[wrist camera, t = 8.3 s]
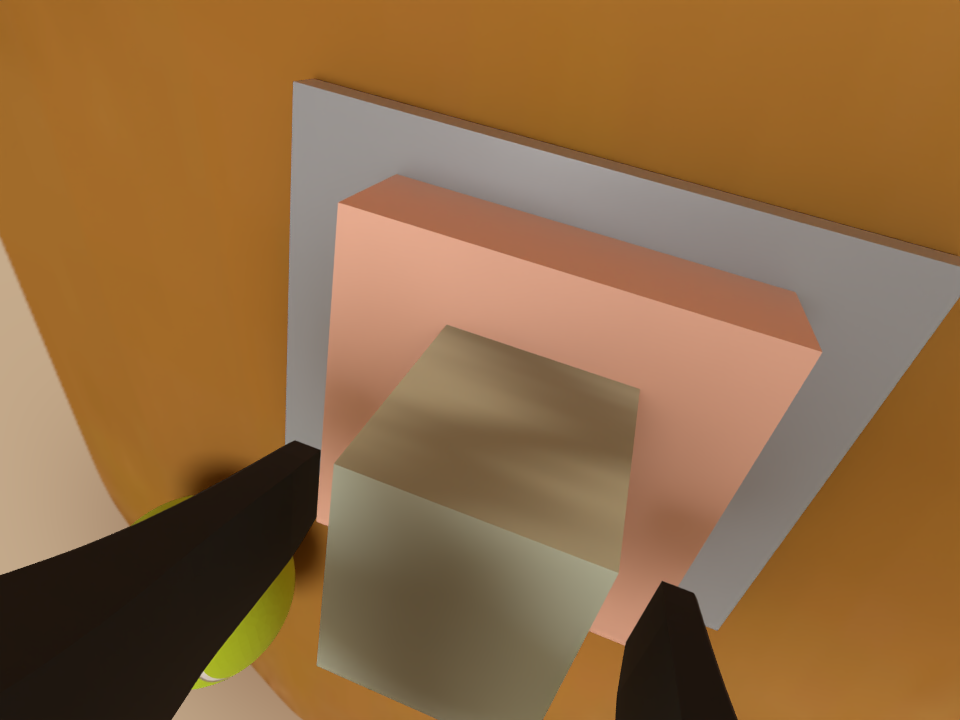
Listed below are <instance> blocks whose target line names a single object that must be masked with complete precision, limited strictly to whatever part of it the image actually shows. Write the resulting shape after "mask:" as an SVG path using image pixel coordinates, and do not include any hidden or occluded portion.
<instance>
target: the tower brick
mask: <svg viewBox="0 0 960 720" xmlns="http://www.w3.org/2000/svg"><path fill="white" fill-rule="evenodd" d="M446 325H450V326H453V327H456V328H459V329H462V330H465V331H468V332H471V333H474V334H477V335H480V336H483V337H486V338H489V339H492V340H495V341H498V342H501V343H504V344H507V345H510V346H513V347H515V348H518V349H521V350H524V351H527V352H530V353H533V354H536V355H539V356H542V357H545V358H548V359H551V360H554V361H557V362H560V363H563V364H566V365H569V366H572V367H575V368H578V369H581V370H584V371H587V372H590V373H593V374H596V375H599V376H602V377H605V378H608V379H611V380H614V381H617V382H620V383H623V384H626V385H629V386H632V387H635V388H638V389H640V393H639V402H638V411H637V419H636V428H635V437H634V445H633V454H632V463H631V471H630V480H629V489H628V497H627V506H626V515H625V523H624V532H623V541H622V549H621V558H620V567H619V574H618V576H617V578H616V579H615V581H614V583H613V585H612V587H611V589H610V591H609V593H608V595H607V597H606V599H605V601H604V603H603V605H602V606H601V608H600V610H599V612H598V614H597V616H596V618H595V620H594V622H593V624H592V626H591V628H590V630H589V631H590V632H593V633H595V634H597V635H600V636H602V637H605V638H607V639H610V640H612V641H615V642H617V643H620V644H622V645H625V644H626V641H627V639H628V637H629V636H630V634H631V632H632V631H633V629H634V627H635V626H636V624H637V622H638V620H639V619H640V617H641V615H642V614H643V612H644V610H645V609H646V607H647V605H648V604H649V602H650V600H651V598H652V597H653V595H654V593H655V592H656V590H657V588H658V587H659V585H660V583H661V581H664V582H667V583H669V584H672V585H675V586H677V587H678V585H679V584H680V582H681V581H682V579H683V577H684V576H685V574H686V572H687V571H688V569H689V568H690V566H691V564H692V563H693V561H694V559H695V558H696V556H697V555H698V553H699V551H700V550H701V548H702V547H703V545H704V543H705V542H706V540H707V538H708V537H709V535H710V534H711V532H712V530H713V529H714V527H715V525H716V524H717V522H718V521H719V519H720V517H721V516H722V514H723V513H724V511H725V509H726V508H727V506H728V504H729V503H730V501H731V500H732V498H733V496H734V495H735V493H736V491H737V490H738V488H739V487H740V485H741V483H742V482H743V480H744V479H745V477H746V475H747V474H748V472H749V470H750V469H751V467H752V466H753V464H754V462H755V461H756V459H757V458H758V456H759V454H760V453H761V451H762V449H763V448H764V446H765V445H766V443H767V441H768V440H769V438H770V436H771V435H772V433H773V432H774V430H775V428H776V427H777V425H778V424H779V422H780V420H781V419H782V417H783V415H784V414H785V412H786V411H787V409H788V407H789V406H790V404H791V402H792V401H793V399H794V398H795V396H796V394H797V393H798V391H799V390H800V388H801V386H802V385H803V383H804V381H805V380H806V378H807V377H808V375H809V373H810V372H811V370H812V368H813V367H814V365H815V364H816V362H817V360H818V359H819V357H820V356H821V354H822V350H821V348H820V345H819V343H818V341H817V339H816V336H815V334H814V332H813V330H812V328H811V325H810V323H809V321H808V319H807V316H806V314H805V312H804V310H803V308H802V305H801V303H800V301H799V299H798V296H797V294H796V292H793V291H790V290H786V289H783V288H780V287H776V286H773V285H769V284H766V283H763V282H759V281H756V280H753V279H749V278H746V277H742V276H739V275H736V274H732V273H729V272H726V271H722V270H719V269H715V268H712V267H709V266H705V265H702V264H699V263H695V262H692V261H688V260H685V259H682V258H678V257H675V256H672V255H668V254H665V253H661V252H658V251H655V250H651V249H648V248H645V247H641V246H638V245H634V244H631V243H628V242H624V241H621V240H618V239H614V238H611V237H607V236H604V235H601V234H597V233H594V232H591V231H587V230H584V229H580V228H577V227H574V226H570V225H567V224H563V223H560V222H557V221H553V220H550V219H547V218H543V217H540V216H536V215H533V214H530V213H526V212H523V211H520V210H516V209H513V208H509V207H506V206H503V205H499V204H496V203H493V202H489V201H486V200H482V199H479V198H476V197H472V196H469V195H466V194H462V193H459V192H455V191H452V190H449V189H445V188H442V187H439V186H435V185H432V184H428V183H425V182H422V181H418V180H415V179H412V178H408V177H405V176H401V175H398V174H396V175H393V176H391V177H389V178H387V179H385V180H383V181H381V182H379V183H377V184H375V185H373V186H371V187H369V188H367V189H365V190H363V191H360V192H358V193H356V194H354V195H352V196H350V197H348V198H346V199H344V200H342V201H340V202H338V210H337V225H336V240H335V254H334V269H333V284H332V299H331V314H330V329H329V344H328V358H327V373H326V388H325V403H324V418H323V433H322V448H321V462H320V477H319V492H318V507H317V522H319V523H322V524H324V525H327V526H329V514H330V502H331V490H332V479H333V467H334V463H335V462H336V460H337V459H338V458H339V457H340V455H341V454H342V453H343V452H344V451H345V449H346V448H347V447H348V446H349V444H350V443H351V442H352V441H353V439H354V438H355V437H356V436H357V435H358V433H359V432H360V431H361V430H362V428H363V427H364V426H365V425H366V423H367V422H368V421H369V420H370V418H371V417H372V416H373V415H374V414H375V412H376V411H377V410H378V409H379V407H380V406H381V405H382V404H383V402H384V401H385V400H386V399H387V398H388V396H389V395H390V394H391V393H392V391H393V390H394V389H395V388H396V386H397V385H398V384H399V383H400V382H401V380H402V379H403V378H404V377H405V375H406V374H407V373H408V372H409V370H410V369H411V368H412V367H413V365H414V364H415V363H416V362H417V361H418V359H419V358H420V357H421V356H422V354H423V353H424V352H425V351H426V349H427V348H428V347H429V346H430V345H431V343H432V342H433V341H434V340H435V338H436V337H437V336H438V335H439V333H440V332H441V331H442V330H443V329H444V327H445V326H446Z"/></svg>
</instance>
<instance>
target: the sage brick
mask: <svg viewBox="0 0 960 720" xmlns="http://www.w3.org/2000/svg"><path fill="white" fill-rule="evenodd" d="M639 393H640V389H638V388H635V387H632V386H629V385H626V384H623V383H620V382H617V381H614V380H611V379H608V378H605V377H602V376H599V375H596V374H593V373H590V372H587V371H584V370H581V369H578V368H575V367H572V366H569V365H566V364H563V363H560V362H557V361H554V360H551V359H548V358H545V357H542V356H539V355H536V354H533V353H530V352H527V351H524V350H521V349H518V348H515V347H513V346H510V345H507V344H504V343H501V342H498V341H495V340H492V339H489V338H486V337H483V336H480V335H477V334H474V333H471V332H468V331H465V330H462V329H459V328H456V327H453V326H450V325H446V326H445V327H444V329H443V330H442V331H441V332H440V333H439V335H438V336H437V337H436V338H435V340H434V341H433V342H432V343H431V345H430V346H429V347H428V348H427V349H426V351H425V352H424V353H423V354H422V356H421V357H420V358H419V359H418V361H417V362H416V363H415V364H414V365H413V367H412V368H411V369H410V370H409V372H408V373H407V374H406V375H405V377H404V378H403V379H402V380H401V382H400V383H399V384H398V385H397V386H396V388H395V389H394V390H393V391H392V393H391V394H390V395H389V396H388V398H387V399H386V400H385V401H384V402H383V404H382V405H381V406H380V407H379V409H378V410H377V411H376V412H375V414H374V415H373V416H372V417H371V418H370V420H369V421H368V422H367V423H366V425H365V426H364V427H363V428H362V430H361V431H360V432H359V433H358V435H357V436H356V437H355V438H354V439H353V441H352V442H351V443H350V444H349V446H348V447H347V448H346V449H345V451H344V452H343V453H342V454H341V455H340V457H339V458H338V459H337V460H336V462H335V463H334V467H333V479H332V490H331V502H330V514H329V526H328V538H327V550H326V561H325V573H324V585H323V597H322V609H321V621H320V632H319V644H318V656H317V666H319V667H321V668H323V669H325V670H328V671H330V672H332V673H334V674H337V675H339V676H341V677H343V678H346V679H348V680H350V681H352V682H355V683H357V684H359V685H361V686H364V687H366V688H368V689H370V690H373V691H375V692H377V693H379V694H382V695H384V696H386V697H388V698H391V699H393V700H395V701H397V702H400V703H402V704H404V705H406V706H409V707H411V708H413V709H416V710H418V711H420V712H422V713H425V714H427V715H429V716H431V717H434V718H436V719H438V720H543V718H544V716H545V714H546V712H547V711H548V709H549V707H550V705H551V703H552V701H553V699H554V697H555V695H556V693H557V691H558V689H559V687H560V685H561V684H562V682H563V680H564V678H565V676H566V674H567V672H568V670H569V668H570V666H571V664H572V662H573V660H574V658H575V657H576V655H577V653H578V651H579V649H580V647H581V645H582V643H583V641H584V639H585V637H586V635H587V633H588V631H589V630H590V628H591V626H592V624H593V622H594V620H595V618H596V616H597V614H598V612H599V610H600V608H601V606H602V605H603V603H604V601H605V599H606V597H607V595H608V593H609V591H610V589H611V587H612V585H613V583H614V581H615V579H616V578H617V576H618V574H619V567H620V558H621V549H622V541H623V532H624V523H625V515H626V506H627V497H628V489H629V480H630V471H631V463H632V454H633V445H634V437H635V428H636V419H637V411H638V402H639Z"/></svg>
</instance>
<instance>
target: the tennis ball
mask: <svg viewBox="0 0 960 720" xmlns="http://www.w3.org/2000/svg"><path fill="white" fill-rule="evenodd" d="M192 496H194V495H192ZM192 496H187V497H182V498H179V499H176V500H173V501H170V502H168V503H165V504H163V505H161V506H159V507H157V508H155V509H153V510H152V511H150V512H148V513H147V514H145V515H144V516H142V517H141V518H140V519H138V520H137V521H136V522H134V523H133V524H132V525H134V524H136V523H139V522H141V521H143V520H145V519H147V518H149V517H151V516H153V515H156V514H158V513H160V512H162V511H164V510H166V509H168V508H170V507H172V506H174V505H176V504H178V503H180V502H182V501H184V500H186V499H188V498H190V497H192ZM132 525H131V526H132ZM294 588H295V565H294V559H293V556H292V558H291V560H290V561H289V562H288V563H287V565H286V566H285V567H284V569H283V570H282V571H281V573H280V574H279V575H278V576H277V578H276V579H275V580H274V581H273V583H272V584H271V585H270V587H269V588H268V589H267V590H266V592H265V593H264V594H263V595H262V597H261V598H260V599H259V600H258V602H257V603H256V604H255V606H254V607H253V608H252V609H251V611H250V612H249V613H248V614H247V616H246V617H245V618H244V619H243V621H242V622H241V623H240V624H239V626H238V627H237V628H236V629H235V631H234V632H233V633H232V634H231V636H230V637H229V638H228V640H227V641H226V642H225V643H224V645H223V646H222V647H221V648H220V650H219V651H218V652H217V654H216V655H215V656H214V658H213V659H212V660H211V662H210V663H209V664H208V666H207V667H206V669H205V670H204V671H203V673H202V674H201V676H200V677H199V679H198V680H197V682H196V683H195V685H194V686H193V688H192V689H198V688H202V687H207V686H210V685H213V684H216V683H219V682H221V681H224V680H226V679H228V678H230V677H232V676H233V675H235V674H237V673H239V672H240V671H242V670H243V669H245V668H246V667H247V666H249V665H250V664H251V663H253V662H254V661H255V660H256V659H257V658H258V657H259V656H260V655H261V654H262V653H263V652H264V651H265V650H266V649H267V648H268V646H269V645H270V644H271V643H272V641H273V640H274V638H275V637H276V636H277V634H278V632H279V631H280V629H281V627H282V625H283V624H284V621H285V619H286V617H287V615H288V612H289V609H290V606H291V603H292V599H293V594H294ZM192 689H191V690H192Z"/></svg>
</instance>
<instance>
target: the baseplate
mask: <svg viewBox="0 0 960 720" xmlns="http://www.w3.org/2000/svg"><path fill="white" fill-rule="evenodd" d="M396 174H398V175H401V176H405V177H408V178H412V179H415V180H418V181H422V182H425V183H428V184H432V185H435V186H439V187H442V188H445V189H449V190H452V191H455V192H459V193H462V194H466V195H469V196H472V197H476V198H479V199H482V200H486V201H489V202H493V203H496V204H499V205H503V206H506V207H509V208H513V209H516V210H520V211H523V212H526V213H530V214H533V215H536V216H540V217H543V218H547V219H550V220H553V221H557V222H560V223H563V224H567V225H570V226H574V227H577V228H580V229H584V230H587V231H591V232H594V233H597V234H601V235H604V236H607V237H611V238H614V239H618V240H621V241H624V242H628V243H631V244H634V245H638V246H641V247H645V248H648V249H651V250H655V251H658V252H661V253H665V254H668V255H672V256H675V257H678V258H682V259H685V260H688V261H692V262H695V263H699V264H702V265H705V266H709V267H712V268H715V269H719V270H722V271H726V272H729V273H732V274H736V275H739V276H742V277H746V278H749V279H753V280H756V281H759V282H763V283H766V284H769V285H773V286H776V287H780V288H783V289H786V290H790V291H793V292H796V294H797V296H798V299H799V301H800V303H801V305H802V308H803V310H804V312H805V314H806V316H807V319H808V321H809V323H810V325H811V328H812V330H813V332H814V334H815V336H816V339H817V341H818V343H819V345H820V348H821V350H822V354H821V356H820V357H819V359H818V360H817V362H816V364H815V365H814V367H813V368H812V370H811V372H810V373H809V375H808V377H807V378H806V380H805V381H804V383H803V385H802V386H801V388H800V390H799V391H798V393H797V394H796V396H795V398H794V399H793V401H792V402H791V404H790V406H789V407H788V409H787V411H786V412H785V414H784V415H783V417H782V419H781V420H780V422H779V424H778V425H777V427H776V428H775V430H774V432H773V433H772V435H771V436H770V438H769V440H768V441H767V443H766V445H765V446H764V448H763V449H762V451H761V453H760V454H759V456H758V458H757V459H756V461H755V462H754V464H753V466H752V467H751V469H750V470H749V472H748V474H747V475H746V477H745V479H744V480H743V482H742V483H741V485H740V487H739V488H738V490H737V491H736V493H735V495H734V496H733V498H732V500H731V501H730V503H729V504H728V506H727V508H726V509H725V511H724V513H723V514H722V516H721V517H720V519H719V521H718V522H717V524H716V525H715V527H714V529H713V530H712V532H711V534H710V535H709V537H708V538H707V540H706V542H705V543H704V545H703V547H702V548H701V550H700V551H699V553H698V555H697V556H696V558H695V559H694V561H693V563H692V564H691V566H690V568H689V569H688V571H687V572H686V574H685V576H684V577H683V579H682V581H681V582H680V584H679V585H678V587H680V588H682V589H685V590H688V591H690V592H693V593H694V594H695V596H696V598H697V600H698V603H699V607H700V610H701V614H702V617H703V620H704V623H705V626H707V627H709V628H712V629H714V630H717V631H718V629H719V628H720V626H721V625H722V624H723V622H724V621H725V620H726V618H727V617H728V615H729V614H730V613H731V611H732V610H733V609H734V607H735V606H736V604H737V603H738V602H739V600H740V599H741V598H742V596H743V595H744V593H745V592H746V591H747V589H748V588H749V586H750V585H751V584H752V582H753V581H754V580H755V578H756V577H757V575H758V574H759V573H760V571H761V570H762V569H763V567H764V566H765V564H766V563H767V562H768V560H769V559H770V558H771V556H772V555H773V553H774V552H775V551H776V549H777V548H778V547H779V545H780V544H781V542H782V541H783V540H784V538H785V537H786V535H787V534H788V533H789V531H790V530H791V529H792V527H793V526H794V524H795V523H796V522H797V520H798V519H799V518H800V516H801V515H802V513H803V512H804V511H805V509H806V508H807V507H808V505H809V504H810V502H811V501H812V500H813V498H814V497H815V496H816V494H817V493H818V491H819V490H820V489H821V487H822V486H823V485H824V483H825V482H826V480H827V479H828V478H829V476H830V475H831V473H832V472H833V471H834V469H835V468H836V467H837V465H838V464H839V462H840V461H841V460H842V458H843V457H844V456H845V454H846V453H847V451H848V450H849V449H850V447H851V446H852V445H853V443H854V442H855V440H856V439H857V438H858V436H859V435H860V434H861V432H862V431H863V429H864V428H865V427H866V425H867V424H868V422H869V421H870V420H871V418H872V417H873V416H874V414H875V413H876V411H877V410H878V409H879V407H880V406H881V405H882V403H883V402H884V400H885V399H886V398H887V396H888V395H889V394H890V392H891V391H892V389H893V388H894V387H895V385H896V384H897V383H898V381H899V380H900V378H901V377H902V376H903V374H904V373H905V371H906V370H907V369H908V367H909V366H910V365H911V363H912V362H913V360H914V359H915V358H916V356H917V355H918V354H919V352H920V351H921V349H922V348H923V347H924V345H925V344H926V343H927V341H928V340H929V338H930V337H931V336H932V334H933V333H934V332H935V330H936V329H937V327H938V326H939V325H940V323H941V322H942V321H943V319H944V318H945V316H946V315H947V314H948V312H949V311H950V309H951V308H952V307H953V305H954V304H955V303H956V301H957V300H958V298H959V297H960V257H959V256H955V255H952V254H948V253H944V252H941V251H937V250H934V249H930V248H926V247H923V246H919V245H915V244H912V243H908V242H905V241H901V240H897V239H894V238H890V237H886V236H883V235H879V234H876V233H872V232H868V231H865V230H861V229H857V228H854V227H850V226H847V225H843V224H839V223H836V222H832V221H828V220H825V219H821V218H817V217H814V216H810V215H807V214H803V213H799V212H796V211H792V210H788V209H785V208H781V207H778V206H774V205H770V204H767V203H763V202H759V201H756V200H752V199H749V198H745V197H741V196H738V195H734V194H730V193H727V192H723V191H720V190H716V189H712V188H709V187H705V186H701V185H698V184H694V183H691V182H687V181H683V180H680V179H676V178H672V177H669V176H665V175H662V174H658V173H654V172H651V171H647V170H643V169H640V168H636V167H633V166H629V165H625V164H622V163H618V162H614V161H611V160H607V159H604V158H600V157H596V156H593V155H589V154H585V153H582V152H578V151H575V150H571V149H567V148H564V147H560V146H556V145H553V144H549V143H546V142H542V141H538V140H535V139H531V138H527V137H524V136H520V135H517V134H513V133H509V132H506V131H502V130H498V129H495V128H491V127H488V126H484V125H480V124H477V123H473V122H469V121H466V120H462V119H459V118H455V117H451V116H448V115H444V114H440V113H437V112H433V111H430V110H426V109H422V108H419V107H415V106H411V105H408V104H404V103H401V102H397V101H393V100H390V99H386V98H382V97H379V96H375V95H372V94H368V93H364V92H361V91H357V90H353V89H350V88H346V87H343V86H339V85H335V84H332V83H328V82H324V81H321V80H317V79H309V80H300V81H293V116H292V161H291V206H290V252H289V297H288V342H287V388H286V433H285V445H286V444H288V443H290V442H292V441H294V440H296V441H299V442H301V443H304V444H306V445H309V446H312V447H314V448H317V449H319V450H321V448H322V433H323V418H324V403H325V388H326V373H327V358H328V344H329V329H330V314H331V299H332V284H333V269H334V254H335V240H336V225H337V210H338V202H340V201H342V200H344V199H346V198H348V197H350V196H352V195H354V194H356V193H358V192H360V191H363V190H365V189H367V188H369V187H371V186H373V185H375V184H377V183H379V182H381V181H383V180H385V179H387V178H389V177H391V176H393V175H396ZM320 462H321V457H320ZM319 476H320V472H319Z"/></svg>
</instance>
